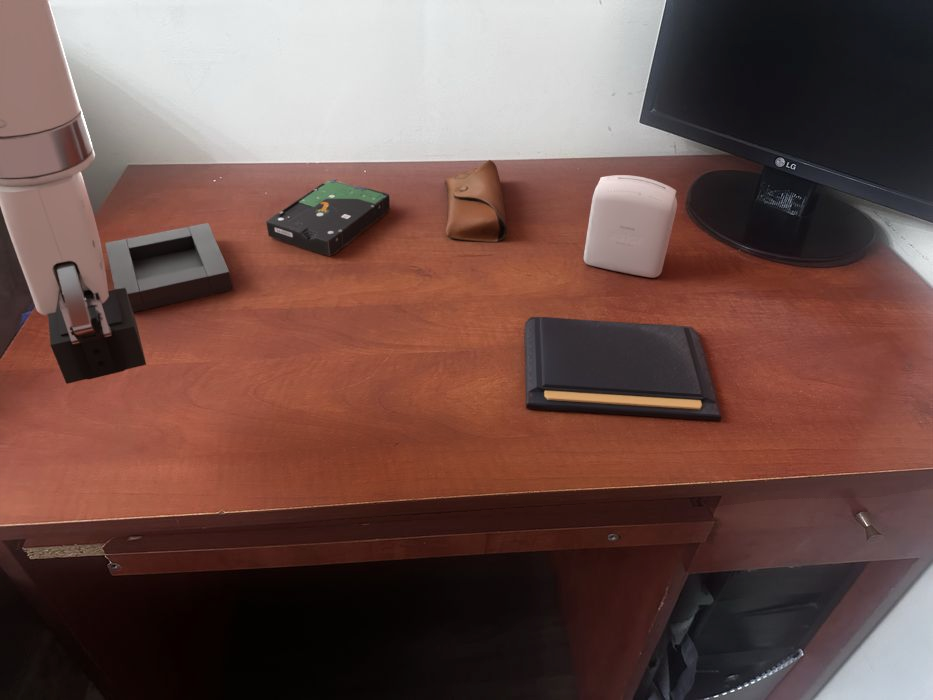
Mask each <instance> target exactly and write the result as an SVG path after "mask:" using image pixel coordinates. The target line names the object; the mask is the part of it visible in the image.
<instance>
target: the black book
mask: <svg viewBox="0 0 933 700" xmlns="http://www.w3.org/2000/svg"><path fill="white" fill-rule="evenodd" d="M523 336H524V337H523V339H524V357H525V360H524V361H525V368H524V369H525V377H524V379H525V383H524V384H525V409H528V410H537V411H538V410H539V411H549V412H551V411H553V412H554V411H555V412H576V413H591V414H607V415H620V416H621V415H622V416H636V417H653V418H668V419H681V420H682V419H684V420H697V421H699V420H700V421H713V422H714V421H715V422H721V420H722V418H723V416H722V413H721V409H720V407H719V401H718V396H717V391H716V389H715V385H714V381H713V377H712V375H711V374H712V373H711V370H710V367H709V364H708V363H709V362H708V360H707V357H706V353H705V349H704V346H703V343H702V340H701V337H700V334H699V332H698V331H697V330H696V329H694V327H692V326H685V325H676V324H675V325H674V324H658V323H657V324H656V323H639V322H623V321H622V322H621V321H609V320H608V321H607V320H590V319H579V318H578V319H577V318H562V317H550V316H531V317H530V318H528V319H527V320H526V321H525V323H524V335H523Z"/></svg>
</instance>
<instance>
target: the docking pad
mask: <svg viewBox="0 0 933 700" xmlns="http://www.w3.org/2000/svg"><path fill="white" fill-rule="evenodd" d="M104 246H105V251H106V257H107V261H108V265H109V270H110V274H111V275H110V276H111V278H112V283H113V288H114V289H113V290H116V289H121V288H126V291H127V294H128V297H129V301H130V304H131V307H132V310H133V314H134V313H137V312H138V313H139V312H142V311H146V310H150V309H154V308H159V307H163V306H167V305H173V304H177V303H181V302H185V301H190V300H195V299H198V298H203V297H207V296H212V295H215V294H219V293H224V292H229V291H233V290H234V286H233V281H232V276H231V272H230V269H229V267H228V265H227V263H226V261H225V257H224V256H223V253H222V251H221V249H220V247H219V244H218V243H217V240H216V237H215V235H214V233H213V231H212V228H211V226H210V224H209V222H205V223H200V224H195V225H190V226H186V227H180V228H175V229H170V230H165V231H160V232H155V233H149V234H143V235H139V236H135V237H129V238H122V239H119V240H113V241H107V242H104Z"/></svg>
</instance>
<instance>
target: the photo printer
mask: <svg viewBox="0 0 933 700" xmlns="http://www.w3.org/2000/svg"><path fill="white" fill-rule="evenodd" d="M676 195H677V190H676V189H675V188H673V187H671V186H670V185H668V184H665V183H664V182H660V181H657V180H655V179H652V178H647V177H643V176H637V175H629V174H627V175H626V174H615V175H606V176H602V177H600V178H599V181H598V183H597V185H596V186H595V189H594V192H593V195H592V200H591V206H590V212H589V218H588V225H587V230H586V231H587V232H586V238H585V244H584V250H583V251H584V252H583V261H584V263H585V264H586V265H589V266H591V267H596V268H600V269H604V270H610V271H613V272H619V273H624V274H628V275H634V276H637V277H638V276H639V277H645V278H653V279H654V278H657V277H659V276H660V275H661V274H662V272H663V267H664V263H665V259H666V255H667V251H668V246H669V242H670V238H671V235H672V229H673V225H674V221H675V218H676V212H677V208H678V200H677V197H676Z"/></svg>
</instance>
